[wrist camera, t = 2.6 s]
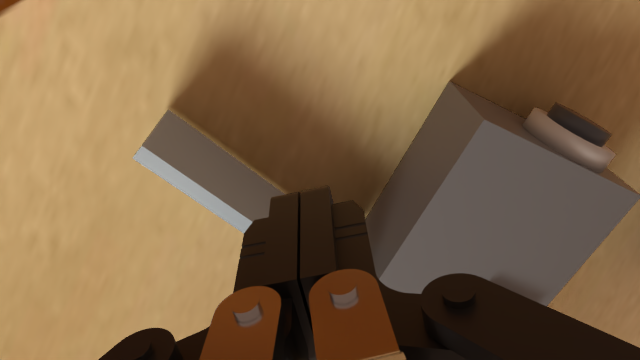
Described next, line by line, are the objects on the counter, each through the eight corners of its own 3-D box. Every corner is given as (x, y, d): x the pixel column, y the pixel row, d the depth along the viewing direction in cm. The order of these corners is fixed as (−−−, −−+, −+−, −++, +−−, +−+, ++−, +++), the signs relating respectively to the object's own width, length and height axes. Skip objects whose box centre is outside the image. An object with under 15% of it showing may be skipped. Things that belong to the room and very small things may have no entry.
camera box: (466, 295, 34) (502, 378, 28) (347, 248, 32) (358, 327, 26) (599, 121, 29) (681, 176, 23) (466, 52, 27) (515, 91, 21)
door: (347, 239, 31) (355, 292, 27) (332, 254, 32) (337, 308, 27) (168, 109, 27) (141, 145, 23) (154, 128, 28) (125, 167, 23)
